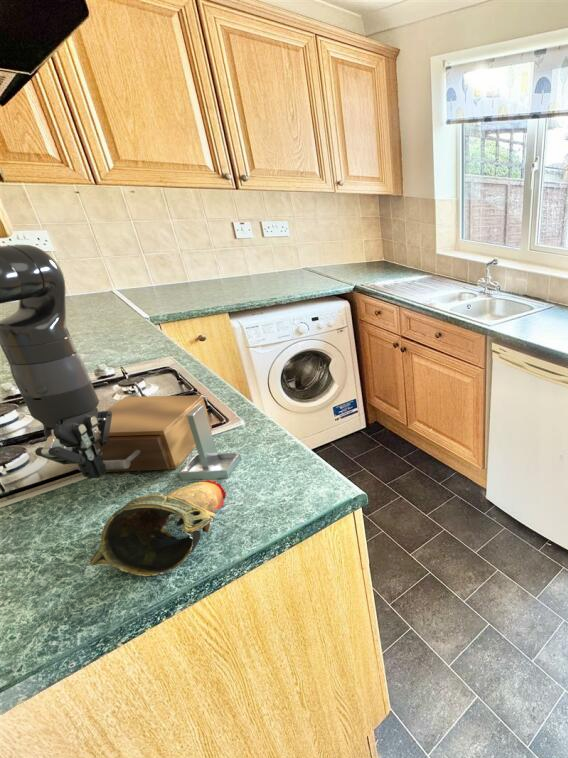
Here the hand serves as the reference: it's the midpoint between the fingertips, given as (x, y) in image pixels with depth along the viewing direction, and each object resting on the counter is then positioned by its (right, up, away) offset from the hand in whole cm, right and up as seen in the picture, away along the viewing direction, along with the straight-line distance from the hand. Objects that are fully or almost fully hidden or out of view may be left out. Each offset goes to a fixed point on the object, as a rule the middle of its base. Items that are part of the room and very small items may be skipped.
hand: (96, 475), depth 71 cm
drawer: (-2, +1, +11) cm, 11 cm away
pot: (+20, -10, -7) cm, 23 cm away
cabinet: (-3, +2, +15) cm, 15 cm away
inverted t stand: (+12, -1, +10) cm, 16 cm away
